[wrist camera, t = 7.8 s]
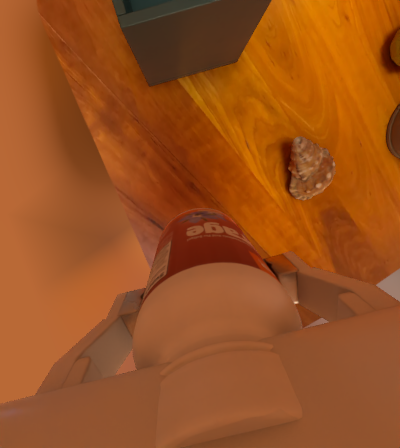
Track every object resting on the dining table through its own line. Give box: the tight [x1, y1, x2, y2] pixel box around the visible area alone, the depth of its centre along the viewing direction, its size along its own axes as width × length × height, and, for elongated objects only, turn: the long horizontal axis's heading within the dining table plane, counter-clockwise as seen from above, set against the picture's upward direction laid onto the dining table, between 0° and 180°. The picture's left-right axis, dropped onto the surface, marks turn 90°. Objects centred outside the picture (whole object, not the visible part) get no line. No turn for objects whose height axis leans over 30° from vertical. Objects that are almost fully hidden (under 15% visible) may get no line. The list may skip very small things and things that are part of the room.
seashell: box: [288, 137, 336, 200], centre depth 32 cm, size 9×8×10 cm
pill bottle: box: [132, 208, 303, 448], centre depth 9 cm, size 6×6×11 cm
